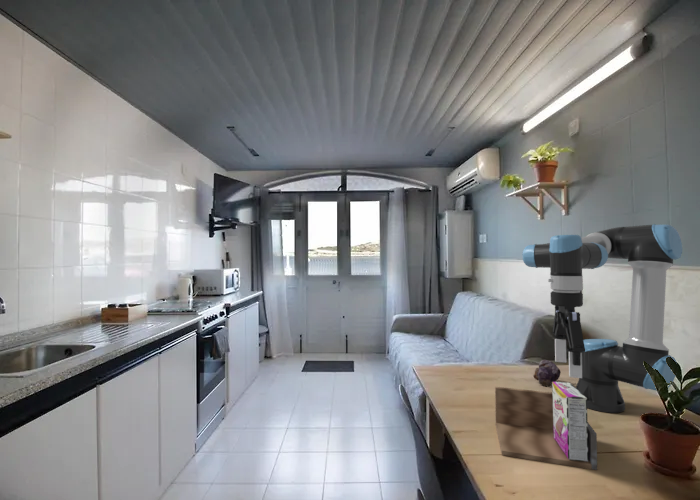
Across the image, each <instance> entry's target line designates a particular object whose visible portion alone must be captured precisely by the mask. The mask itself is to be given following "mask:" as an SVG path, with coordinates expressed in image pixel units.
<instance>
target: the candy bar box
mask: <svg viewBox="0 0 700 500" xmlns="http://www.w3.org/2000/svg"><path fill="white" fill-rule="evenodd" d="M551 387H552V395H553V434H554V439H555V441H556V442H557V444H558V445H559V446H560V448H561V449H562V451H563V452H564V453H565V455H566V456H567V458H568V459H569V460H574V461H585V462H588V423H589V422H588V408H587V398H586V397H585V396H584V395H583V394H582V393H580V392H579V391H578V390H577V389H576V387H575V386H574V385H573V384H572V383H570V382H565V381H564V382H563V381H555V382H552V384H551ZM587 422H588V423H587Z"/></svg>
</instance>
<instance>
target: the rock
mask: <svg viewBox="0 0 700 500" xmlns="http://www.w3.org/2000/svg"><path fill="white" fill-rule="evenodd" d="M560 375H561V370H560V368H559V367H558V366H557V364H556V363H554V362H553V361H550V360H548V359H543V360H542V359H541V360H540V362H539V364H538V367H536V368H535V370H534V374H533V375H532V376H533V378H534V379H535V380H538V384H539V385H541V386H543V387H550V386H552V382H557V380H559V379H560Z"/></svg>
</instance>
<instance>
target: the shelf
mask: <svg viewBox="0 0 700 500" xmlns="http://www.w3.org/2000/svg"><path fill="white" fill-rule="evenodd" d="M494 390H495V391H494V393H495V394H494V395H495V396H494V397H495V398H494V399H495V405H494V406H495V412H494V413H495V414H494V415H495V428H496V434H497V439H498V443H499V447H500V453H501V456H503V457H504V456H506V457H512V458H519V459H525V460H530V461H537V462H543V463H550V464H554V465H555V464H556V465H562V466H569V467H575V468H581V469H588V470H594V471H597V470H598V444H597V440H598V439H597V438H598V437H597V434H598V433H597V432H596V431H595V430H594V428H593V427H592V426H591V424H590V423H589V422H588V421H587V423H588V462H585V461H574V460H569V459H568V458H567V456H566V455H565V453H564V452H563V451H562V449H561V448H560V446H559V445H558V444H557V442H556V441H555V439H554V434H553V395H552V392H551V391H550V392H549V391H541V390H532V389H531V390H530V389H522V388H513V387H502V386H494Z"/></svg>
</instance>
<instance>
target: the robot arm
mask: <svg viewBox="0 0 700 500" xmlns="http://www.w3.org/2000/svg"><path fill="white" fill-rule="evenodd" d="M682 254H683V243H682V240H681V236H680V233H679V232H678V230H677V229H676V228H675V227H674V226H673V225H671V224H667V223H666V224H661V223H660V224H655V223H653V224H645V225H632V226H631V225H630V226H619V227H618V226H617V227H612V228H608V229H604V230H599V231H595V232H591V233H589V234H587V235H586V236H581V235H579V234H558V235H557V234H556V235H552V236H551V237H550V239H549V242H548V243H540V244H537V243H535V244H528V245H526V246H525V247H524V249H523V250H522V261H523V263H524V265H525V266H527V267H529V268H535V269H538V268H547V269H549V268H550V274H549V275H550V278H548V280H547V281H548V283H550V289H551V290H552V291H551V292H550V304H551V305H553V306H554V317H553V318H554V319H553V326H552V335H553V337H554V356H555V357H554V362H556V363H557V362H558V363H567V353H568V377H569V378H575V379H576V378H577V379H578V381H577V384H576V387H575V388H576V389H577V390H578V391H579V392H580V393H582V394H583V395H584V396H585V397H586V398H587V409H590V410H594V411H596V412H603V413H611V414H612V413H614V414H615V413H617V414H618V413H622V412H624V411H625V410H626V402H625V400H624V397H623V394H622V392H621V389H620V387H619V382H622V383H625V384H629V385H634V386H637V387H640V388H644V389H645V390H652V391H657V390H656V388H655V385H654V383H653V381H652V379H651V377H650V375H649V374H648V372H647V371H646V369H645V367H644V365H643V361H645V362H646V363H647V364H649V365H650V366H651V367H652V368H654V369H656V370H658V371H659V373H660V374H661V375H662V376H663V377H664V379H665V380H666V382H667V383H670V381H672V382H673V383H674V380H675V378H676V375H674V374H673V372H672V371H671V369H670V367H669V366H668V365H667V363H666V358H667V357H671V358H672V359H673V360H674V361H675V362H676V363H677V359H676V358H675V357H674V356H672V355H669V354H670V352H669V351H670V349H669V348H668V347H667V346H666V345H665V344H664V328H665V327H664V323H665V305H666V304H665V302H666V288H667V287H666V286H667V285H666V284H667V270H668V269H669V268H671V267H673V266H674V265H673V264H674V260H675V261H676V260H679V259H680V258H681V257H682ZM608 259H618V260H627V264H628V265H629V266H630V267H631V268H632V279H631V280H632V281H631V299H630V311H629V312H630V315H629V331H628V332H629V333H628V338H627V339H625V340H624V341H622V346H619V343H618V341H617V340H614V339H607V338H589V339H588V338H587V339H584V335H583V329H582V324H581V323H582V322H581V313H580V312H578V311H576V309H575V308H579V307H580V308H581V307H583V306H584V294H583V293H582V292H581V291H583V289H584V283H583V282H584V281H583V280H584V279H583V278H584V277H583V270H585V269H587V270H589V269H590V270H595V269H599V268H601V267H603V266H604V265H605V264H606V263H607V261H608ZM567 341H568V345H569V347H567ZM671 386H672V384H671V385H669V386H668V389H669V388H670V387H671ZM657 392H658V391H657Z"/></svg>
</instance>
